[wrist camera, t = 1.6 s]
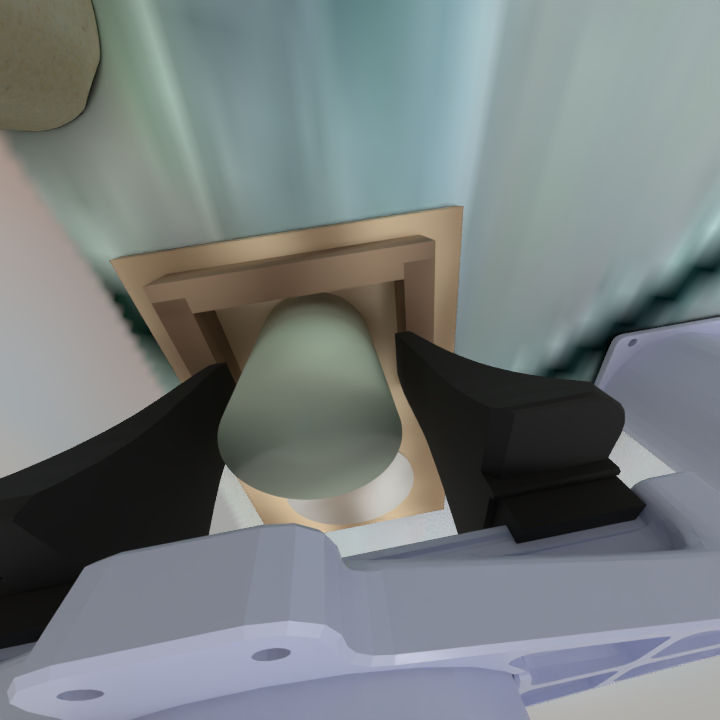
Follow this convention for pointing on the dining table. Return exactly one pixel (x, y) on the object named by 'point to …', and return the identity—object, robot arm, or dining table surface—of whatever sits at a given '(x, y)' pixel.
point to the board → (304, 277)
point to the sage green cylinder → (311, 404)
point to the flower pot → (45, 62)
